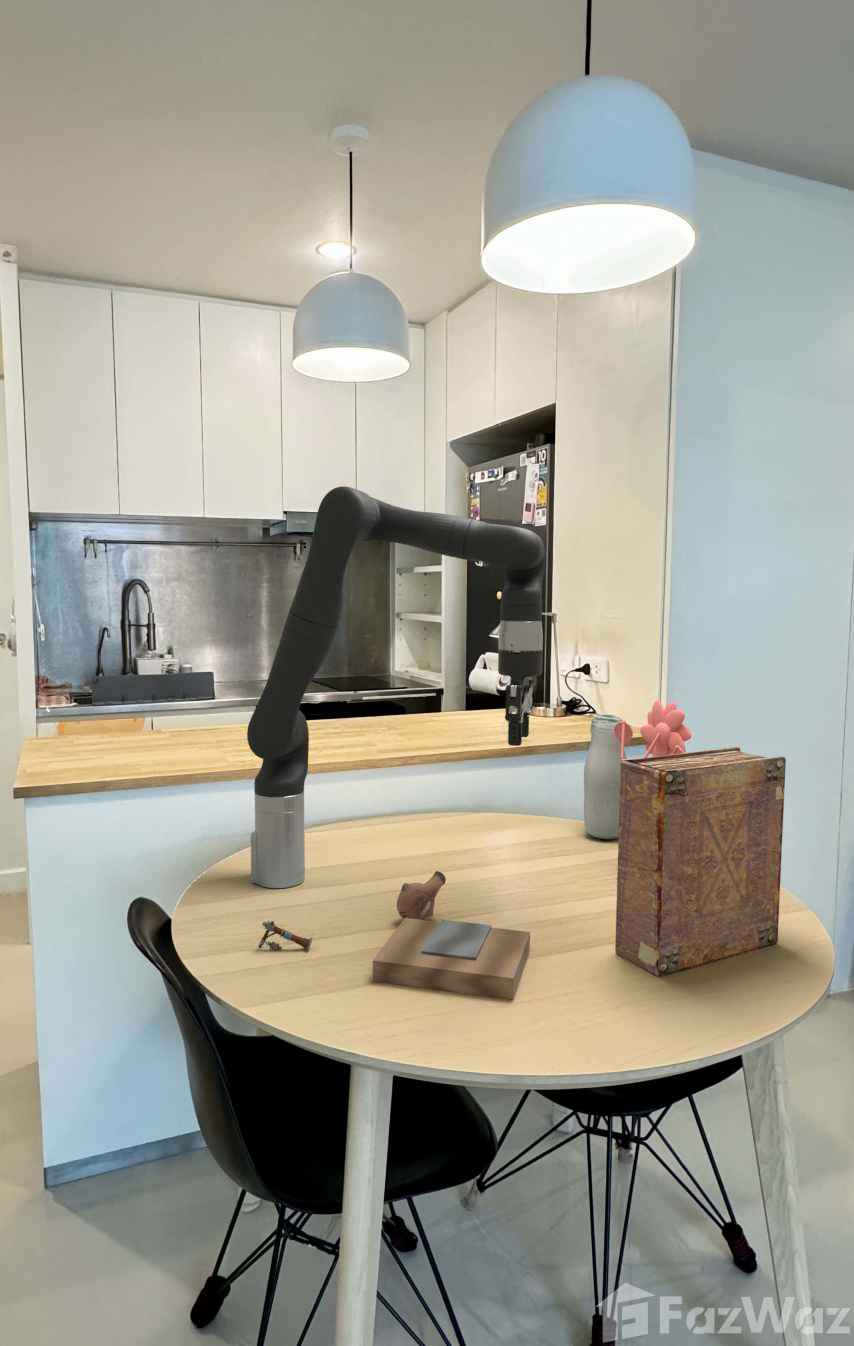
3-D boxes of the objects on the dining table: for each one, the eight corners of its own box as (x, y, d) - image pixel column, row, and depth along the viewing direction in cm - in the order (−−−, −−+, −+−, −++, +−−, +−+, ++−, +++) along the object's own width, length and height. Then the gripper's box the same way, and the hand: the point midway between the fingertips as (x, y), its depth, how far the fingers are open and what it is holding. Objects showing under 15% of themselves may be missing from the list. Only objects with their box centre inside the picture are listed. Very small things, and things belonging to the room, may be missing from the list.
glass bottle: (623, 832, 191) (627, 712, 188) (629, 845, 181) (634, 718, 178) (580, 830, 192) (583, 711, 189) (584, 843, 182) (587, 717, 179)
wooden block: (372, 980, 117) (372, 957, 116) (404, 935, 132) (404, 915, 132) (513, 999, 112) (513, 975, 111) (529, 950, 127) (530, 929, 127)
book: (731, 923, 138) (739, 746, 135) (778, 944, 130) (787, 756, 127) (614, 953, 126) (620, 760, 123) (657, 978, 118) (665, 772, 115)
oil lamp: (440, 911, 142) (440, 866, 142) (451, 920, 139) (452, 873, 138) (393, 920, 138) (393, 874, 138) (403, 929, 135) (403, 881, 134)
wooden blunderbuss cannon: (254, 941, 128) (265, 915, 127) (301, 962, 128) (313, 936, 128) (251, 946, 126) (263, 920, 125) (300, 967, 126) (312, 941, 126)
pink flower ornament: (677, 912, 142) (687, 711, 140) (587, 867, 166) (595, 694, 163) (743, 901, 149) (755, 708, 146) (648, 859, 172) (657, 693, 169)
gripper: (505, 644, 149) (504, 733, 151) (491, 649, 135) (489, 747, 137) (547, 645, 147) (545, 735, 149) (537, 650, 134) (534, 749, 135)
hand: (518, 740), depth 143 cm, fingers open, 8 cm apart
